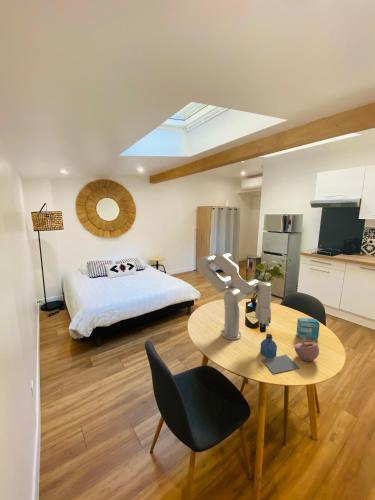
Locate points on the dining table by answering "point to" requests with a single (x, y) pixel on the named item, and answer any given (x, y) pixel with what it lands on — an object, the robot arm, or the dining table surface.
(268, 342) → the perfume bottle
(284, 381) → the dining table surface
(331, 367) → the dining table surface
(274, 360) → the slate mat
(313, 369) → the dining table surface
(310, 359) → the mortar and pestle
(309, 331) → the data package
